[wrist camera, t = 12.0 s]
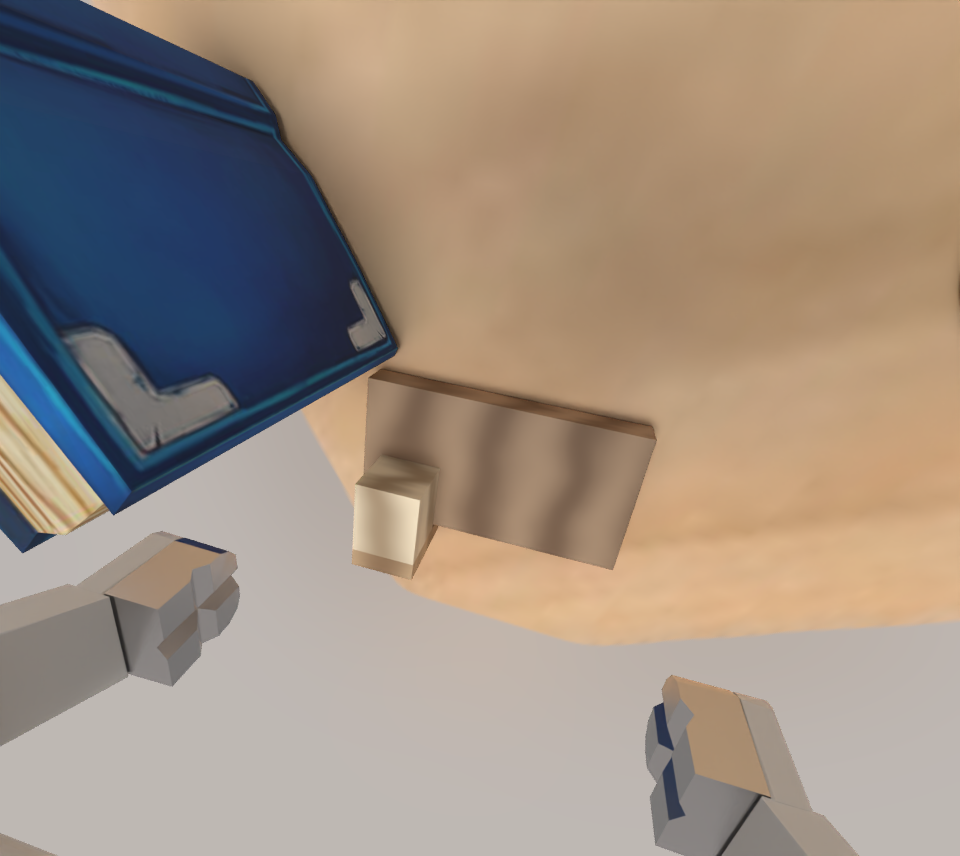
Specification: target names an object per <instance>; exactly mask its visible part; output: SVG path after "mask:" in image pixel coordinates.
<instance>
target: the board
mask: <svg viewBox="0 0 960 856" xmlns="http://www.w3.org/2000/svg"><path fill="white" fill-rule="evenodd" d="M656 441H657V440H656V437H655V433H654V430H653V427H651V426H646V425H641V424H636V423H632V422H627V421H622V420H618V419H613V418H608V417H604V416H599V415H594V414H590V413H585V412H580V411H575V410H571V409H566V408H561V407H557V406H552V405H547V404H543V403H538V402H533V401H529V400H524V399H519V398H514V397H510V396H505V395H500V394H496V393H491V392H486V391H482V390H477V389H472V388H468V387H463V386H458V385H454V384H449V383H444V382H439V381H435V380H430V379H425V378H421V377H416V376H411V375H407V374H402V373H397V372H393V371H388V370H383V369H381V370H379V371H378V372H376V373H375V374H373V375H372V376H370V377H369V378H368V395H367V416H366V436H365V456H364V474H365V473H366V472H367V471H368V470H369V469H370V467H371V466H372V465H373V464H374V463H375V462H376V461H377V460H378V459H379V458H380V456H381V455H386V456H390V457H394V458H398V459H402V460H407V461H411V462H415V463H419V464H423V465H428V466H432V467H436V468H440V471H439V479H438V487H437V495H436V503H435V511H434V519H433V524H434V525H438V526H442V527H446V528H450V529H454V530H458V531H461V532H465V533H469V534H473V535H477V536H481V537H485V538H489V539H493V540H497V541H501V542H505V543H508V544H512V545H516V546H520V547H524V548H528V549H532V550H536V551H540V552H544V553H548V554H552V555H555V556H559V557H563V558H567V559H571V560H575V561H579V562H583V563H587V564H591V565H595V566H599V567H602V568H606V569H610V570H613V568H614V565H615V562H616V559H617V556H618V553H619V550H620V547H621V544H622V541H623V539H624V536H625V533H626V530H627V527H628V524H629V521H630V518H631V515H632V512H633V509H634V506H635V503H636V500H637V497H638V494H639V491H640V488H641V485H642V482H643V479H644V476H645V473H646V470H647V467H648V464H649V461H650V458H651V455H652V452H653V449H654V447H655V444H656Z"/></svg>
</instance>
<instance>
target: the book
mask: <svg viewBox="0 0 960 856" xmlns="http://www.w3.org/2000/svg"><path fill="white" fill-rule="evenodd" d="M397 349H398V347H397V345H396V343H395V341H394V339H393V337H392V335H391V333H390V331H389V329H388V326H387V324H386V322H385V320H384V318H383V316H382V314H381V312H380V310H379V308H378V306H377V303H376V301H375V299H374V297H373V295H372V293H371V291H370V289H369V287H368V285H367V283H366V281H365V278H364V276H363V274H362V272H361V270H360V268H359V266H358V264H357V262H356V260H355V258H354V256H353V255H352V253H351V251H350V249H349V247H348V245H347V243H346V241H345V239H344V237H343V235H342V234H341V232H340V230H339V228H338V226H337V224H336V222H335V220H334V218H333V216H332V214H331V212H330V211H329V209H328V207H327V205H326V203H325V201H324V199H323V197H322V195H321V193H320V191H319V190H318V188H317V186H316V184H315V182H314V180H313V178H312V176H311V175H310V174H309V172H308V171H307V170H306V169H305V168H304V167H303V165H302V164H301V163H300V162H299V161H298V159H297V158H296V157H295V156H294V155H293V153H292V152H291V151H290V150H289V149H288V148H287V146H286V145H285V144H284V143H283V142H282V140H281V137H280V132H279V128H278V124H277V119H276V115H275V114H274V112H273V111H272V109H271V108H270V106H269V105H268V103H267V102H266V100H265V99H264V97H263V96H262V94H261V93H260V91H259V90H258V88H257V87H256V85H255V84H254V82H253V81H251V80H249V79H247V78H244V77H242V76H240V75H238V74H236V73H234V72H232V71H230V70H227V69H225V68H223V67H221V66H219V65H217V64H215V63H212V62H210V61H208V60H206V59H204V58H202V57H200V56H198V55H195V54H193V53H191V52H189V51H187V50H185V49H183V48H180V47H178V46H176V45H174V44H172V43H170V42H168V41H166V40H163V39H161V38H159V37H157V36H155V35H153V34H151V33H148V32H146V31H144V30H142V29H140V28H138V27H136V26H134V25H131V24H129V23H127V22H125V21H123V20H121V19H119V18H116V17H114V16H112V15H110V14H108V13H106V12H104V11H101V10H99V9H97V8H95V7H93V6H91V5H89V4H87V3H84V2H82V1H80V0H0V529H1V530H2V531H3V532H4V534H6V536H7V537H8V538H9V539H10V540H11V541H12V542H13V543H14V544H15V546H16V547H17V548H18V549H19V550H20V551H21V552H22V553H24V552H26V551H28V550H30V549H32V548H33V547H35V546H37V545H39V544H41V543H43V542H45V541H46V540H48V539H50V538H52V537H54V536H55V535H57V534H60V535H66V534H68V533H70V532H72V531H74V530H75V529H77V528H79V527H81V526H83V525H85V524H86V523H88V522H90V521H92V520H94V519H95V518H97V517H99V516H101V515H102V514H104V513H106V512H108V511H110V512H111V513H112V514H113V515H115V514H117V513H119V512H120V511H122V510H124V509H126V508H127V507H129V506H131V505H133V504H134V503H136V502H138V501H140V500H142V499H143V498H145V497H147V496H148V495H150V494H152V493H154V492H156V491H157V490H159V489H161V488H163V487H164V486H166V485H168V484H169V483H171V482H173V481H175V480H177V479H178V478H180V477H182V476H184V475H186V474H187V473H189V472H191V471H192V470H194V469H196V468H198V467H200V466H201V465H203V464H205V463H207V462H208V461H210V460H212V459H214V458H215V457H217V456H219V455H221V454H222V453H224V452H226V451H228V450H230V449H231V448H233V447H235V446H237V445H238V444H240V443H242V442H244V441H245V440H247V439H249V438H251V437H252V436H254V435H256V434H258V433H259V432H261V431H263V430H265V429H266V428H268V427H270V426H272V425H274V424H275V423H277V422H279V421H281V420H282V419H284V418H286V417H288V416H289V415H291V414H293V413H295V412H296V411H298V410H300V409H302V408H304V407H305V406H307V405H309V404H311V403H312V402H314V401H316V400H318V399H319V398H321V397H323V396H325V395H326V394H328V393H330V392H332V391H333V390H335V389H337V388H339V387H340V386H342V385H344V384H346V383H348V382H349V381H351V380H353V379H355V378H356V377H358V376H360V375H362V374H363V373H365V372H367V371H369V370H370V369H372V368H374V367H376V366H377V365H379V364H381V363H383V362H384V361H386V360H388V359H390V358H392V357H393V356H395V354H396V351H397Z"/></svg>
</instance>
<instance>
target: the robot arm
mask: <svg viewBox="0 0 960 856" xmlns="http://www.w3.org/2000/svg"><path fill="white" fill-rule="evenodd" d="M235 570H237V562H236V555H235V554H233V553H231V552H229V551H226V550H223V549H219V548H216V547H213V546H210V545H207V544H203V543H200V542H197V541H194V540H190V539H187V538H183V537H179V536H176V535H173V534H170V533H166V532H163V531H161V532H156V533H152V534H150V535H149V536H147V537H146V538H145V539H143V540H142V541H140V542H139V543H137V544H136V545H135V546H133V547H132V548H130V549H129V550H127V551H126V552H124V553H123V554H121V555H120V556H119V557H117V558H116V559H114V560H113V561H111V562H110V563H108V564H107V565H106V566H104V567H103V568H101V569H100V570H98V571H97V572H96V573H94V574H93V575H91V576H90V577H88V578H87V579H85V580H84V581H83V582H81V583H80V584H78V585H77V586H73V585H70V584H67V585H64V586H60V587H57V588H54V589H51V590H47V591H44V592H41V593H38V594H34V595H31V596H28V597H24V598H21V599H18V600H15V601H11V602H8V603H5V604H2V605H0V746H2V745H3V744H5V743H7V742H9V741H11V740H13V739H15V738H17V737H18V736H20V735H22V734H24V733H26V732H27V731H29V730H31V729H33V728H35V727H37V726H39V725H40V724H42V723H44V722H46V721H48V720H49V719H51V718H53V717H55V716H57V715H59V714H61V713H62V712H64V711H66V710H68V709H70V708H72V707H73V706H75V705H77V704H79V703H81V702H83V701H85V700H86V699H88V698H90V697H92V696H94V695H96V694H97V693H99V692H101V691H103V690H105V689H107V688H109V687H110V686H112V685H114V684H116V683H118V682H119V681H121V680H123V679H125V678H127V677H128V674H131V675H134V676H138V677H141V678H145V679H148V680H151V681H155V682H158V683H162V684H165V685H168V686H173V685H174V684H175V683H176V682H177V681H178V679H180V677H181V676H182V675H183V674H184V673H185V672H186V671H187V670H188V669H189V668H190V667H191V665H192V664H193V663H194V662H195V661H196V660H197V659H198V658H199V657H200V656H201V649H202V643H204V642H206V641H208V640H210V639H213V638H215V637H217V636H219V635H220V634H221V632H222V631H223V630H224V629H225V628H226V627H227V625H228V624H229V623H230V621H231V619H232V617H233V615H234V613H235V612H236V610H237V607H238V602H239V597H240V593H239V586H238V584H237V583H236V581H235V580H234V579H233V577H232V576H231V575H232V574H233V573H234V572H235ZM662 695H663V703H661V704H659V705H657V706H655V707H653V710H652V713H651V715H650V717H649V720H648V725H647V731H646V740H645V745H646V746H645V753H646V763H647V769H648V770H649V772H650V773H651V775H652V776H653V778H654V780H655V781H656V783H657V784H656V786H655V788H654V790H653V792H652V794H651V796H650V801H651V810H652V819H653V828H654V837H655V845H656V846H659V847H662V848H664V849H667V850H670V851H673V852H676V853H679V854H681V855H684V856H859V855H858V854H857V853H856V852H855V850H854V849H853V848H852V847H851V846H850V845H849V844H848V842H847V841H846V840H845V839H844V838H843V837H842V836H841V834H840V833H839V832H838V831H837V830H836V829H835V828H834V826H833V825H832V824H831V823H830V822H829V821H828V820H827V819H826V817H825V816H824V815H821V814H818V813H815V812H813V811H812V808H811V806H810V803H809V800H808V798H807V795H806V793H805V790H804V788H803V785H802V782H801V780H800V777H799V775H798V772H797V770H796V767H795V765H794V762H793V760H792V757H791V754H790V752H789V749H788V747H787V744H786V741H785V739H784V736H783V734H782V731H781V729H780V726H779V723H778V721H777V718H776V716H775V713H774V711H773V708H772V707H771V706H770V704H769V703H768V702H767V701H765V700H762V699H758V698H754V697H751V696H747V695H743V694H740V693H736V692H731V691H729V690H725V689H722V688H718V687H714V686H711V685H707V684H703V683H699V682H696V681H692V680H688V679H685V678H681V677H677V676H673V675H671V676H670V677H669V678H668V679H666V682H665V684H664V686H663V688H662ZM0 856H57V855H54V854H52V853H49V852H47V851H44V850H42V849H39V848H37V847H34V846H31V845H29V844H26V843H24V842H21V841H19V840H16V839H14V838H11V837H9V836H6V835H4V834H1V833H0Z"/></svg>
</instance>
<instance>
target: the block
mask: <svg viewBox="0 0 960 856" xmlns="http://www.w3.org/2000/svg"><path fill="white" fill-rule="evenodd" d="M439 471H440V468H436V467H432V466H428V465H423V464H419V463H415V462H411V461H407V460H402V459H398V458H394V457H390V456H386V455H381V456H380V458H379V459H378V460H377V461H376V462H375V463H374V464H373V465H372V466H371V467H370V469H369V470H368V471H367V472H366V473H365V474H364V475H363V476H362V477H361V478H360V480H359V481H358V482H357V483H356V484H355V501H354V526H353V551H352V564H354V565H358V566H361V567H365V568H369V569H373V570H376V571H380V572H383V573H387V574H391V575H394V576H398V577H402V578H405V579H409V580H412V578H413V576H414V574H415V572H416V570H417V568H418V566H419V564H420V562H421V560H422V558H423V556H424V554H425V552H426V550H427V548H428V546H429V544H430V542H431V540H432V538H433V536H434V534H435V532H436V530H437V528H438V525H434V524H433V519H434V511H435V503H436V495H437V487H438V479H439Z"/></svg>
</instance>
